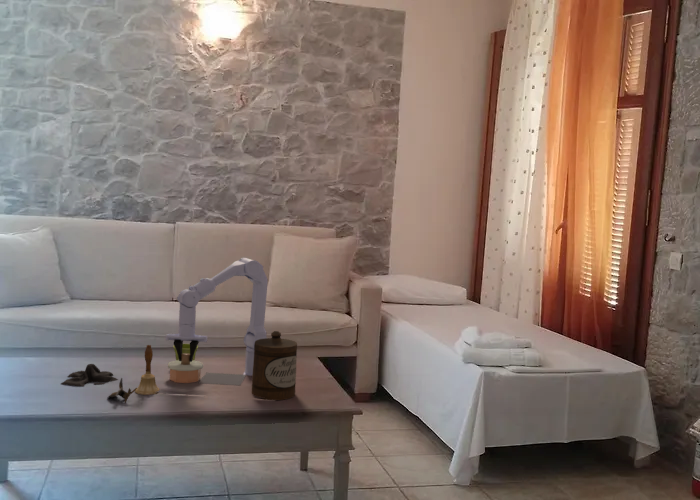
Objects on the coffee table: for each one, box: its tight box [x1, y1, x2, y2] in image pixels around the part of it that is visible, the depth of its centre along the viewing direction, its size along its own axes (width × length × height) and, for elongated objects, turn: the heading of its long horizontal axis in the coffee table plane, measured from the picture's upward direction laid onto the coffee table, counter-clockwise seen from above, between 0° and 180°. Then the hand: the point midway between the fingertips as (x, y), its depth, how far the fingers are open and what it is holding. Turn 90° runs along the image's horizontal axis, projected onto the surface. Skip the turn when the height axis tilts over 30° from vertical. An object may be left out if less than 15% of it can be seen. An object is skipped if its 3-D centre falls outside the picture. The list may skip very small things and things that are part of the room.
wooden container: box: [251, 330, 298, 401], centre depth 256 cm, size 15×15×22 cm
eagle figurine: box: [107, 377, 138, 404], centre depth 241 cm, size 8×7×9 cm
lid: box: [167, 353, 204, 371], centre depth 267 cm, size 12×12×4 cm
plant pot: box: [172, 343, 199, 361], centre depth 285 cm, size 9×9×9 cm
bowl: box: [169, 369, 202, 384], centre depth 268 cm, size 10×10×5 cm
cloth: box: [60, 363, 119, 388], centre depth 263 cm, size 22×19×6 cm
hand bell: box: [134, 344, 160, 396], centre depth 251 cm, size 8×8×16 cm
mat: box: [197, 372, 247, 387], centre depth 271 cm, size 15×15×1 cm
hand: (185, 360), depth 267 cm, fingers closed on lid, 3 cm apart
